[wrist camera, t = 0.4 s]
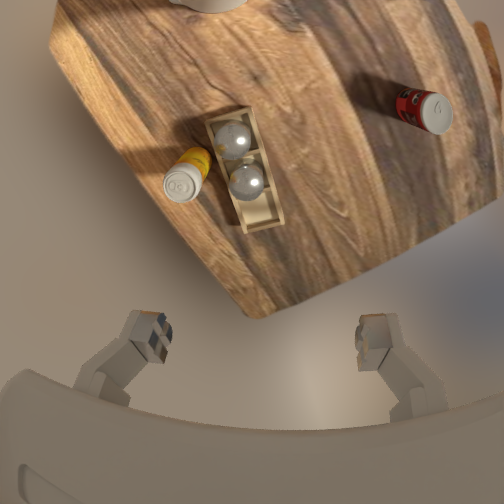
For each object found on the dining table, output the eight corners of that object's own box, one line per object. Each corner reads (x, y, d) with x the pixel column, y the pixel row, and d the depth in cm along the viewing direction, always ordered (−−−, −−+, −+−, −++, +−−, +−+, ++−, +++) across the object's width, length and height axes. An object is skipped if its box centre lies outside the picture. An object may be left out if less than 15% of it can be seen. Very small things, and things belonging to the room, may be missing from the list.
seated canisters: (214, 125, 47) (208, 131, 41) (245, 115, 46) (244, 120, 40) (237, 190, 54) (235, 204, 49) (266, 182, 53) (267, 196, 48)
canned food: (422, 89, 41) (452, 95, 32) (423, 123, 45) (453, 135, 36) (392, 86, 42) (420, 90, 33) (395, 122, 46) (422, 134, 37)
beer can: (209, 176, 55) (195, 208, 42) (181, 171, 54) (159, 201, 42) (215, 148, 51) (201, 172, 39) (185, 143, 50) (162, 166, 38)
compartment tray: (207, 119, 48) (203, 121, 45) (251, 105, 46) (250, 107, 43) (244, 225, 61) (244, 233, 58) (283, 216, 60) (284, 224, 57)
